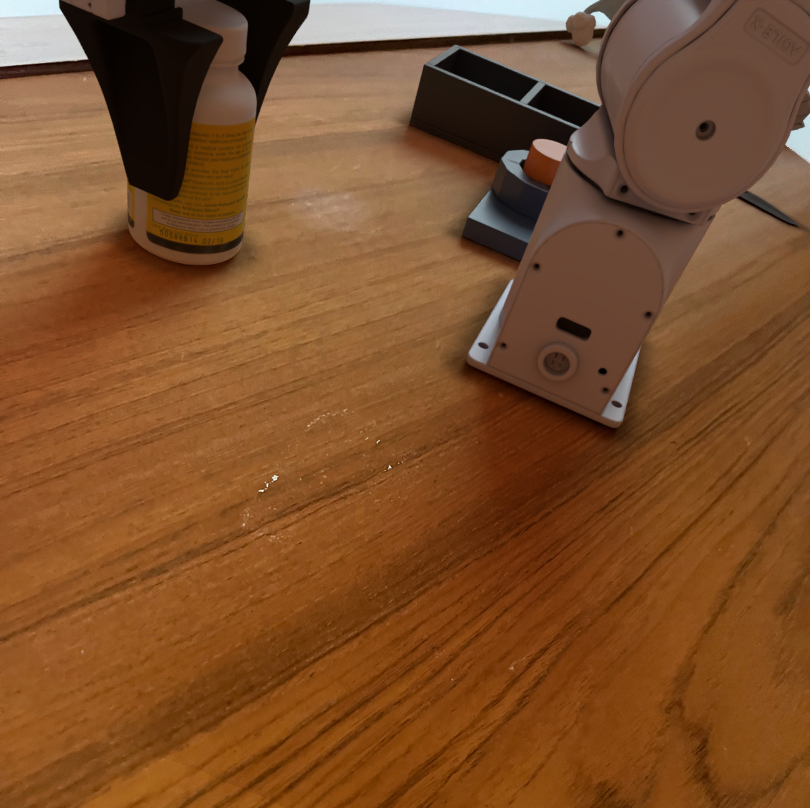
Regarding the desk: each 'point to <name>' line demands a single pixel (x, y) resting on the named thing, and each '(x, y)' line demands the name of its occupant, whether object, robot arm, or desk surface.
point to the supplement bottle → (207, 157)
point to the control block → (508, 208)
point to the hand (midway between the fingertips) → (190, 169)
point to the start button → (544, 160)
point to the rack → (493, 105)
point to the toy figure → (590, 20)
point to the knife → (766, 206)
